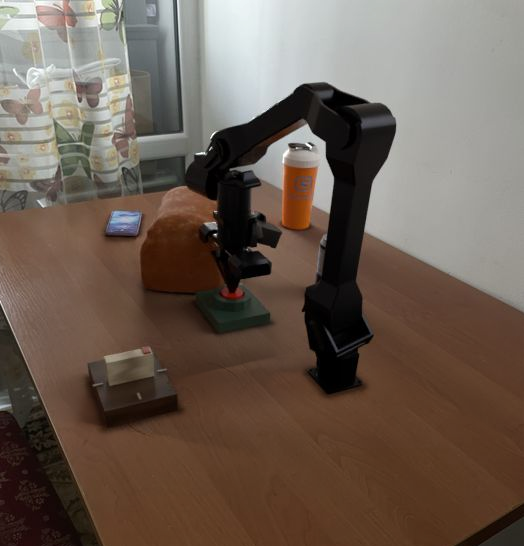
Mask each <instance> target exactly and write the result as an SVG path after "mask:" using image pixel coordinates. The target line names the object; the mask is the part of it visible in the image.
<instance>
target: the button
mask: <svg viewBox="0 0 524 546" xmlns="http://www.w3.org/2000/svg"><path fill="white" fill-rule="evenodd" d="M221 297H223V298H225V299H230V300H236V299H240V298H242V297H243V291H242V290H241V289H239V288H237V290H236V292H235V293H230V292H229V291H228V288H224V289H223V290H222V291H221Z"/></svg>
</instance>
